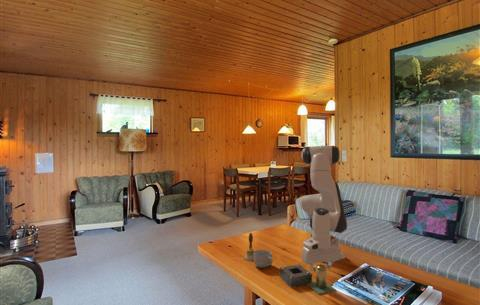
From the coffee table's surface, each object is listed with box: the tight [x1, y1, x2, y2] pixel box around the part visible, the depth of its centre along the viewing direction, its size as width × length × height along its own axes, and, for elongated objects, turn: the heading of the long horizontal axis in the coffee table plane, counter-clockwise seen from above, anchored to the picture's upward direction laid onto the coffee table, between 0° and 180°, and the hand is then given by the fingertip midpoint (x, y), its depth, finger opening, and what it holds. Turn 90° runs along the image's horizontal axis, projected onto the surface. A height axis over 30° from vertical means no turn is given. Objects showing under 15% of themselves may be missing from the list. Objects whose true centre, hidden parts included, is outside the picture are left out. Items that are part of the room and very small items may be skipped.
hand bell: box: [243, 232, 255, 262], centre depth 171 cm, size 8×8×16 cm
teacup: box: [253, 249, 274, 269], centre depth 159 cm, size 14×11×8 cm
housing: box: [279, 263, 313, 289], centre depth 143 cm, size 12×12×6 cm
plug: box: [315, 264, 327, 289], centre depth 135 cm, size 5×5×10 cm
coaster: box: [306, 281, 337, 295], centre depth 135 cm, size 10×10×1 cm
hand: (321, 269), depth 135 cm, fingers open, 8 cm apart
